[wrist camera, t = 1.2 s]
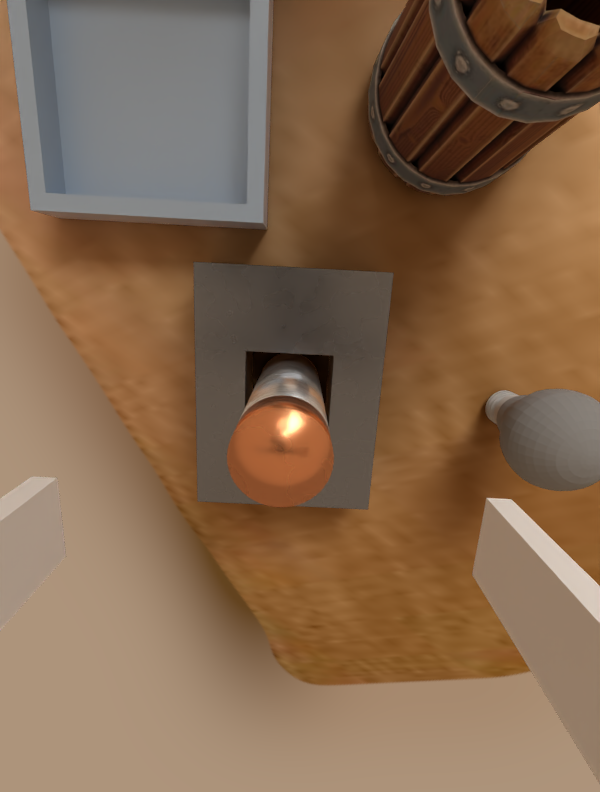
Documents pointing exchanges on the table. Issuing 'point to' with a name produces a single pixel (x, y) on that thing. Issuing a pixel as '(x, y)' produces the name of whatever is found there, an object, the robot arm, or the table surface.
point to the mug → (479, 86)
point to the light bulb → (549, 436)
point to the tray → (146, 109)
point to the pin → (283, 436)
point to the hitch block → (299, 334)
